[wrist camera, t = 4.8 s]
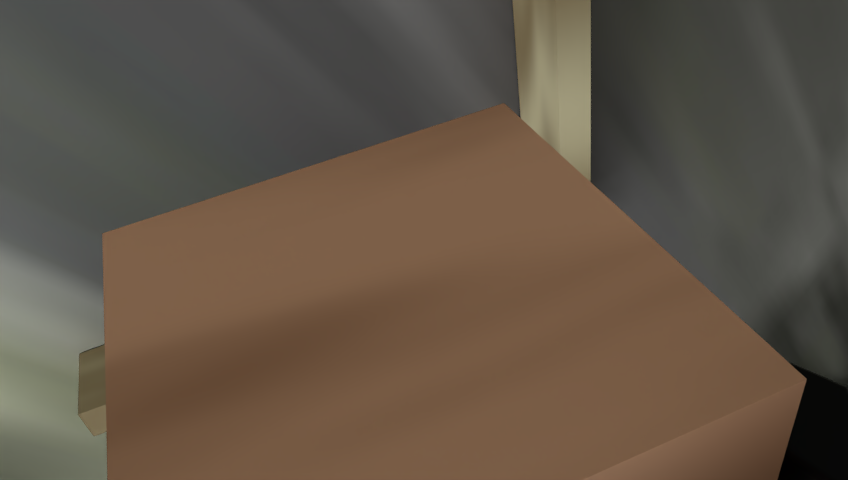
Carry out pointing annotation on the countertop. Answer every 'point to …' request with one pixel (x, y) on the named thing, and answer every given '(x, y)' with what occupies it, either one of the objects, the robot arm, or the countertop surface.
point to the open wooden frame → (539, 108)
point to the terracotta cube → (428, 330)
